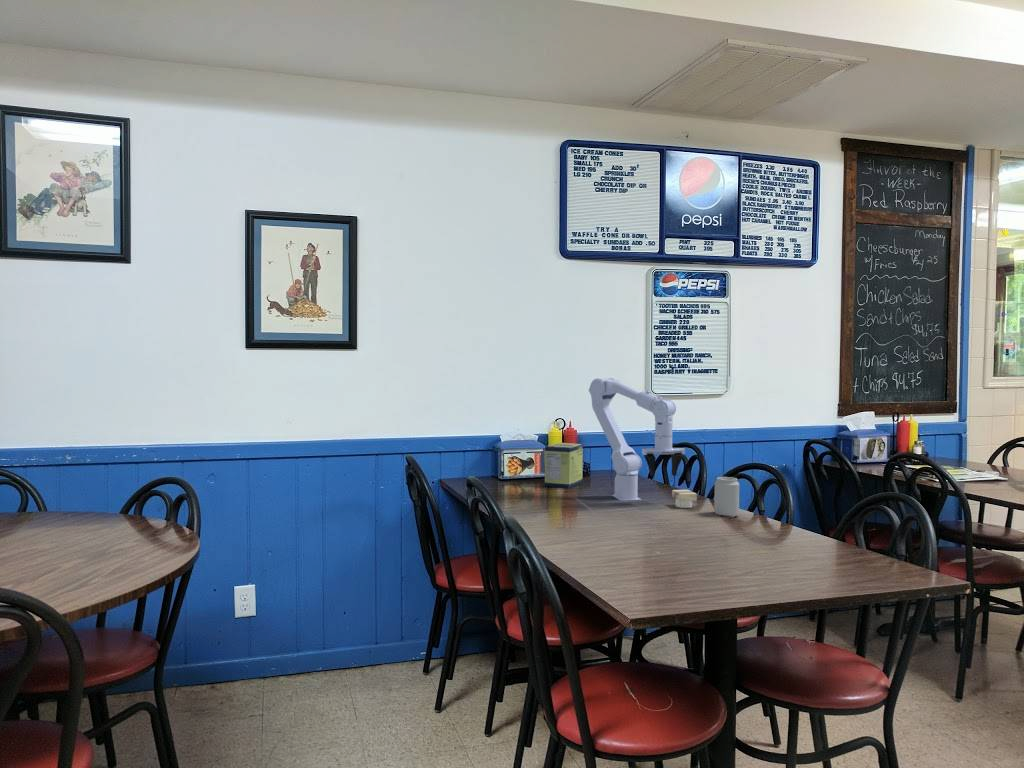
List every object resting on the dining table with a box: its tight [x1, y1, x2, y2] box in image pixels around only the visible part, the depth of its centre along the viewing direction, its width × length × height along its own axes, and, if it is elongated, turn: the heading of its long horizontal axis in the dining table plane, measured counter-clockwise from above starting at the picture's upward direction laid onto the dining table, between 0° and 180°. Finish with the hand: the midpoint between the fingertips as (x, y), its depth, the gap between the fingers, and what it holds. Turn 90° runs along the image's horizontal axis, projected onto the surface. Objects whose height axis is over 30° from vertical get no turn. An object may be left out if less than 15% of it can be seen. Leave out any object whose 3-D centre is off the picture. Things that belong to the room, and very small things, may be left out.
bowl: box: [675, 499, 693, 509], centre depth 249 cm, size 5×5×3 cm
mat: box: [630, 501, 668, 511], centre depth 250 cm, size 12×9×1 cm
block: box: [671, 489, 698, 502], centre depth 249 cm, size 8×6×2 cm
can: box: [713, 476, 740, 518], centre depth 238 cm, size 8×8×12 cm
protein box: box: [544, 442, 584, 489], centre depth 294 cm, size 10×16×16 cm
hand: (663, 475), depth 254 cm, fingers open, 7 cm apart
